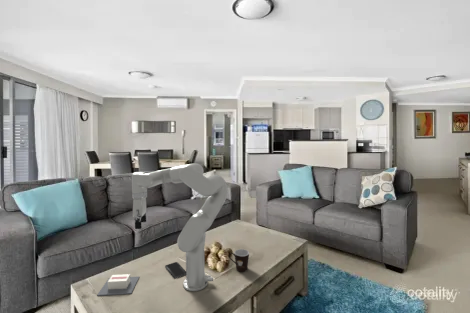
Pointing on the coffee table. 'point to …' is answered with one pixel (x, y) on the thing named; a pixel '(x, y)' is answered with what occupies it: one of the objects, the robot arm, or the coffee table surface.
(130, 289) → the mat
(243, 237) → the coffee table surface
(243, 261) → the coffee mug
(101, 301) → the coffee table surface
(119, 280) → the card box
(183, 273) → the phone
